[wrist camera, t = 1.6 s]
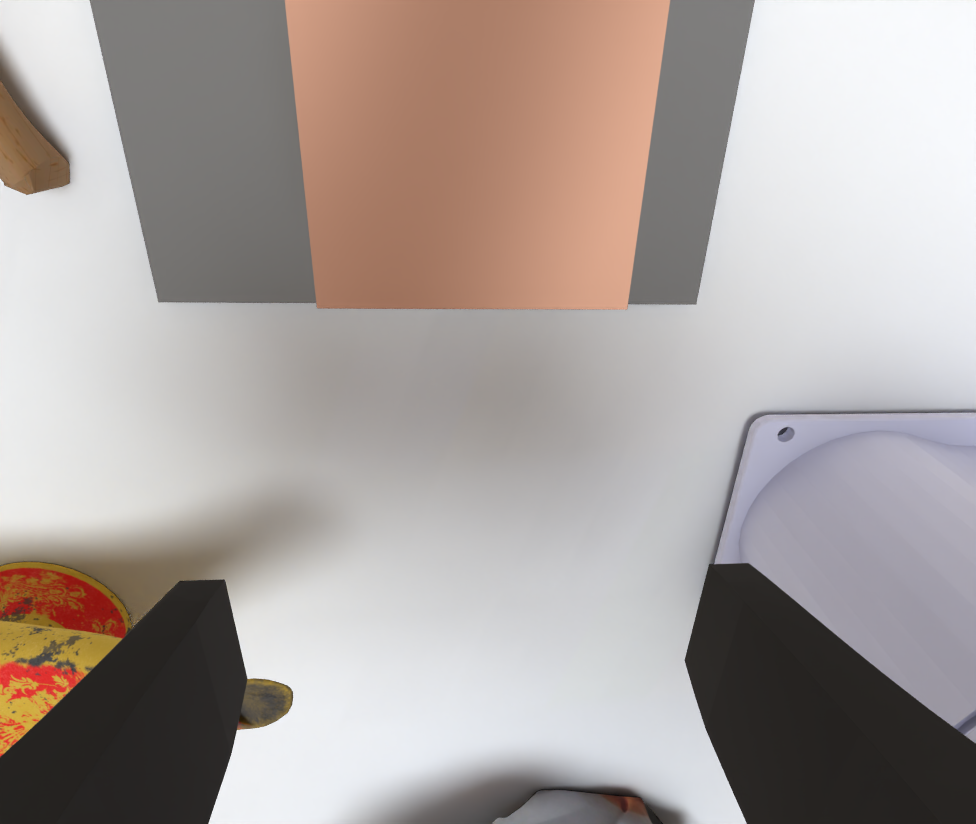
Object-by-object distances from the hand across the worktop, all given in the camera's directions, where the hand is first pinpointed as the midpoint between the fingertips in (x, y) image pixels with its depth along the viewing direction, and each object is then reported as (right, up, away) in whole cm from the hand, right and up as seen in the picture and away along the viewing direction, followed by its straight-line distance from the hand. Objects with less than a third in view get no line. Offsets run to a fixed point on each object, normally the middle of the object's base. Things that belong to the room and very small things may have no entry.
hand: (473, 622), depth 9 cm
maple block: (0, +10, +5) cm, 11 cm away
